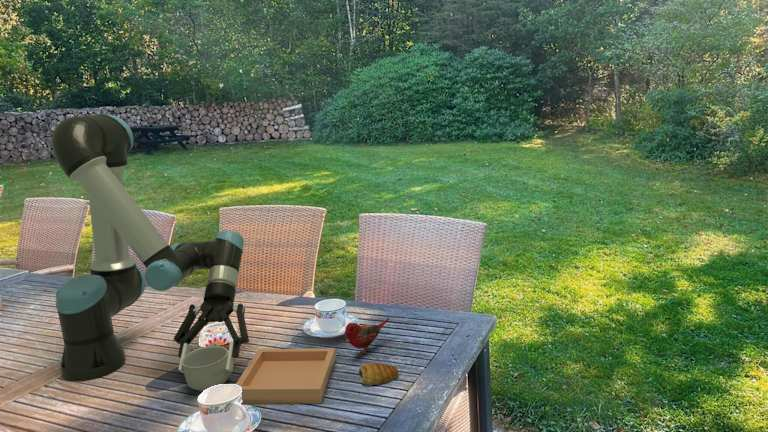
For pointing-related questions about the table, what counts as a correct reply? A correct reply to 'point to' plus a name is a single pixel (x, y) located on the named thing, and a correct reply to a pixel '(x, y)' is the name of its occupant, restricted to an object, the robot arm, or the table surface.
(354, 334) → the decorative bird figurine
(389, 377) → the pastry
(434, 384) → the table surface
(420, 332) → the table surface
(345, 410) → the table surface
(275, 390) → the shallow wooden tray
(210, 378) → the teacup
